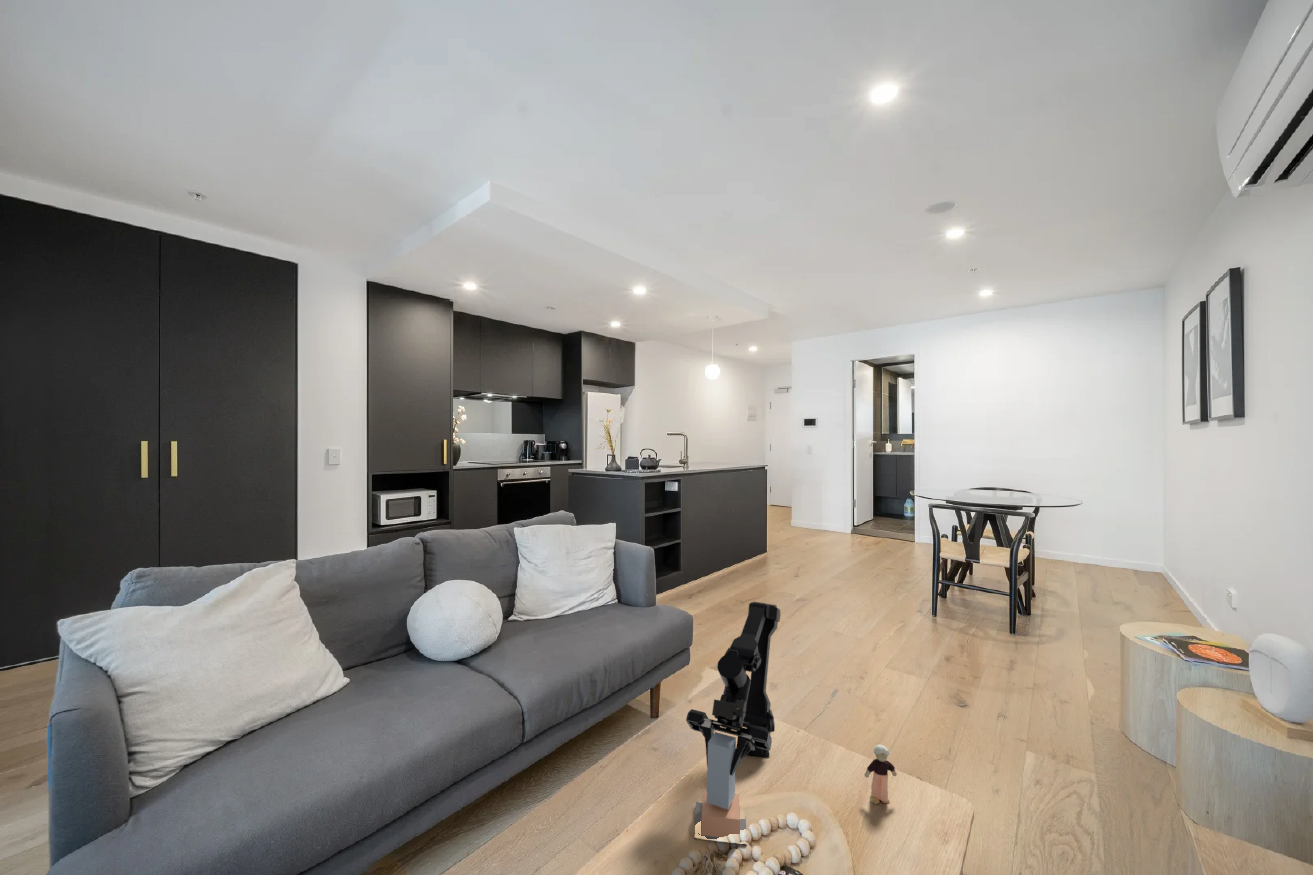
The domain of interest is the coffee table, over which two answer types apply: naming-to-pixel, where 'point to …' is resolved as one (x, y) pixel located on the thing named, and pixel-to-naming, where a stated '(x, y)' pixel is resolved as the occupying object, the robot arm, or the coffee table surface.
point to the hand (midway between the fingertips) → (719, 771)
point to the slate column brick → (720, 770)
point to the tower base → (719, 818)
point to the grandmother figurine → (880, 775)
